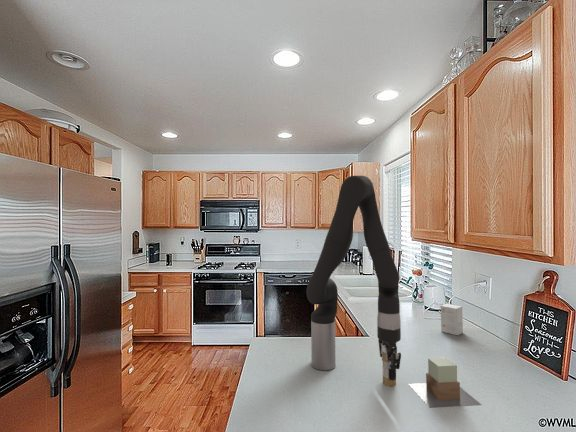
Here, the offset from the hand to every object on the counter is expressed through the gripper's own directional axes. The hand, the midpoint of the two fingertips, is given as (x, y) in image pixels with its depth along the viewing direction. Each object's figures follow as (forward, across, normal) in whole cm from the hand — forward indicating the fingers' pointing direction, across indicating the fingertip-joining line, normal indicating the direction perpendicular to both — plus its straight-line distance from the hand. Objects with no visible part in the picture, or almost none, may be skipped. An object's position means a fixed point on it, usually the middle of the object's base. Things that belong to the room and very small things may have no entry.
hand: (389, 375), depth 110 cm
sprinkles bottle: (+3, 0, 0) cm, 3 cm away
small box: (+4, -49, +52) cm, 71 cm away
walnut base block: (+2, +8, +14) cm, 16 cm away
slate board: (+3, +8, +14) cm, 16 cm away
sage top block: (-3, +8, +14) cm, 16 cm away
